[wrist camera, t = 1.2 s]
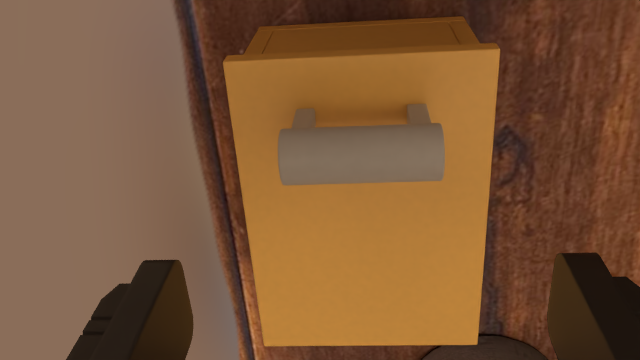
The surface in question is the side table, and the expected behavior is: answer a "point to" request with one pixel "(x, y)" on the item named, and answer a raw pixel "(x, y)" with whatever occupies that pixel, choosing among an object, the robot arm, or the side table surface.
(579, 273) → the robot arm
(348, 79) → the lid
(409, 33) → the case
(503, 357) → the pillar candle
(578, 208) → the side table surface
